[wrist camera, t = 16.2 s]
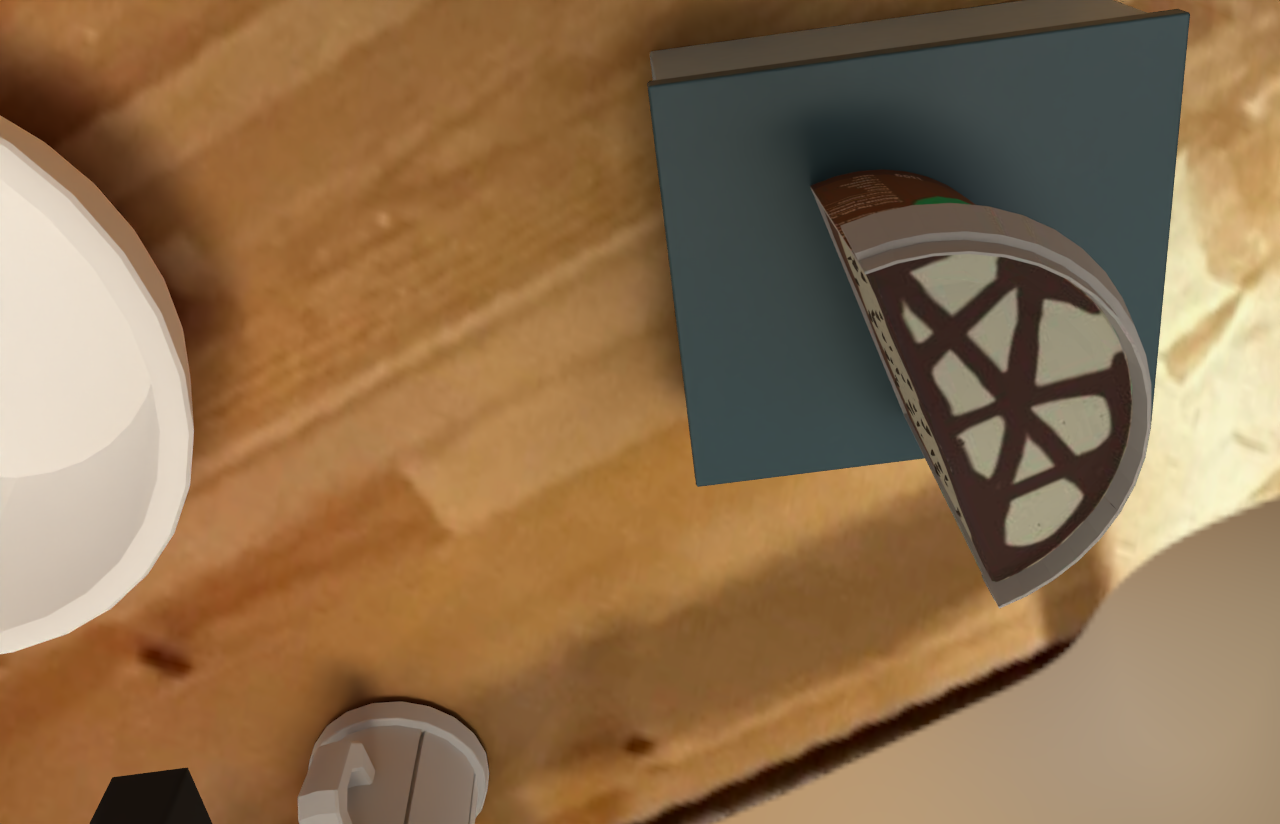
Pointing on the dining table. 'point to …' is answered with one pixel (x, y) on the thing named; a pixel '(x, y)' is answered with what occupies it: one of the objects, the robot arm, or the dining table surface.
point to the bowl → (81, 399)
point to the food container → (998, 367)
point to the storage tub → (903, 141)
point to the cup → (394, 769)
